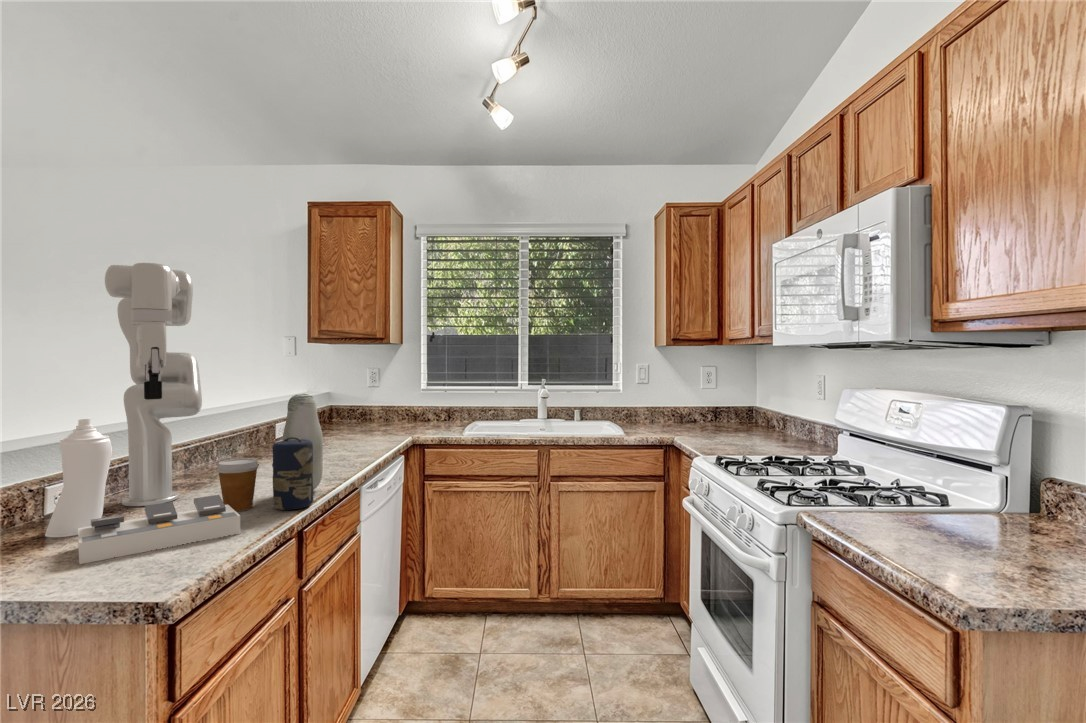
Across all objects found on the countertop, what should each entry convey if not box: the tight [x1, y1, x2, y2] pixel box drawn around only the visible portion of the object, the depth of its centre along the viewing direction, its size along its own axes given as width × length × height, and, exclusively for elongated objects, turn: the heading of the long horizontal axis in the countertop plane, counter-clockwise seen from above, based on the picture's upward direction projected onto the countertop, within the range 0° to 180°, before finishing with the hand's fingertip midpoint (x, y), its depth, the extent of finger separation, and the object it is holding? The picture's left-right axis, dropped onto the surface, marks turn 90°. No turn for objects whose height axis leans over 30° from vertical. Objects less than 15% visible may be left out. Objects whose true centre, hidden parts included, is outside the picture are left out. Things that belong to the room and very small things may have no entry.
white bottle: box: [44, 418, 114, 538], centre depth 124 cm, size 12×11×25 cm
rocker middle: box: [144, 501, 177, 524], centre depth 119 cm, size 7×5×1 cm
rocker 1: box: [91, 514, 125, 527], centre depth 113 cm, size 7×5×1 cm
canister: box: [271, 437, 314, 511], centre depth 143 cm, size 10×10×18 cm
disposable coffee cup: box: [216, 457, 260, 512], centre depth 142 cm, size 10×10×12 cm
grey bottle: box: [282, 393, 324, 491], centre depth 158 cm, size 10×10×28 cm
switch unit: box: [77, 505, 241, 565], centre depth 117 cm, size 12×27×5 cm, turn 131°
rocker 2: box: [193, 494, 226, 516], centre depth 124 cm, size 7×5×1 cm
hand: (153, 398), depth 127 cm, fingers closed
